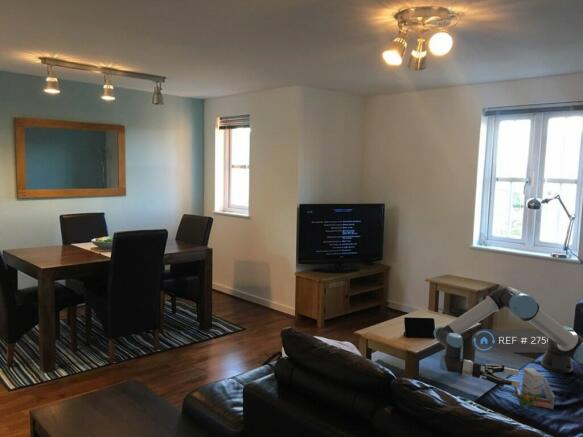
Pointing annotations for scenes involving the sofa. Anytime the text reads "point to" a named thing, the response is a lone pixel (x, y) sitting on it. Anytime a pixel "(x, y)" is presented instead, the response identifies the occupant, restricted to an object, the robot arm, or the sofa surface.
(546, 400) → the trap channel
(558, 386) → the sofa surface
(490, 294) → the robot arm
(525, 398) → the figurine
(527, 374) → the ink box
